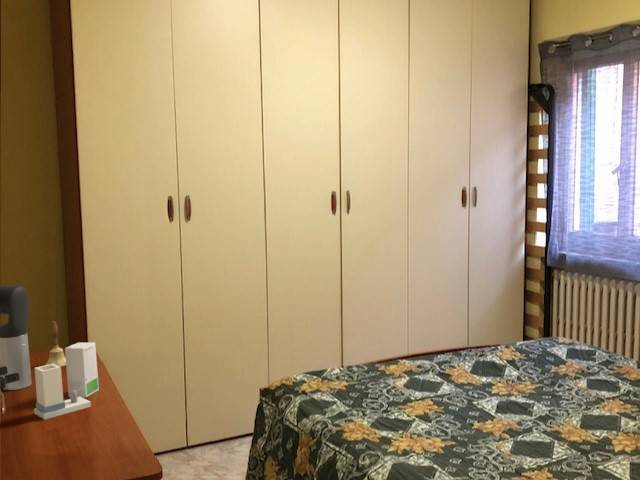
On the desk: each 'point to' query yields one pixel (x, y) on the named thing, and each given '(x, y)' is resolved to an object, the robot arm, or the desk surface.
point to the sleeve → (49, 388)
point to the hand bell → (56, 348)
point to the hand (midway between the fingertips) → (12, 372)
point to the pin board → (66, 406)
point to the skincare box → (82, 369)
